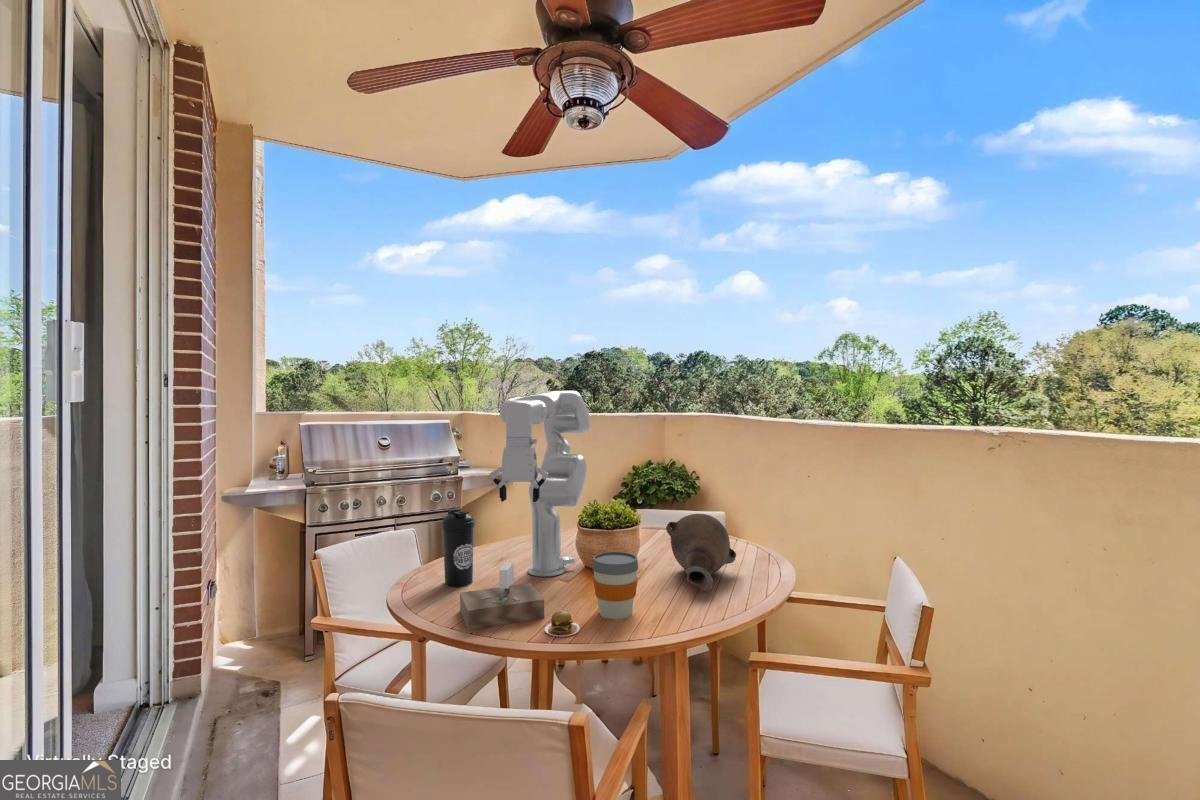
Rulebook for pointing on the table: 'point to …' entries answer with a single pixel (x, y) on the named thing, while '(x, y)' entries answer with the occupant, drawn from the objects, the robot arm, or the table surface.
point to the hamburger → (561, 623)
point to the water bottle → (458, 548)
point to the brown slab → (501, 606)
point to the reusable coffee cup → (615, 583)
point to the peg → (506, 577)
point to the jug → (700, 547)
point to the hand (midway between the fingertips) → (519, 500)
